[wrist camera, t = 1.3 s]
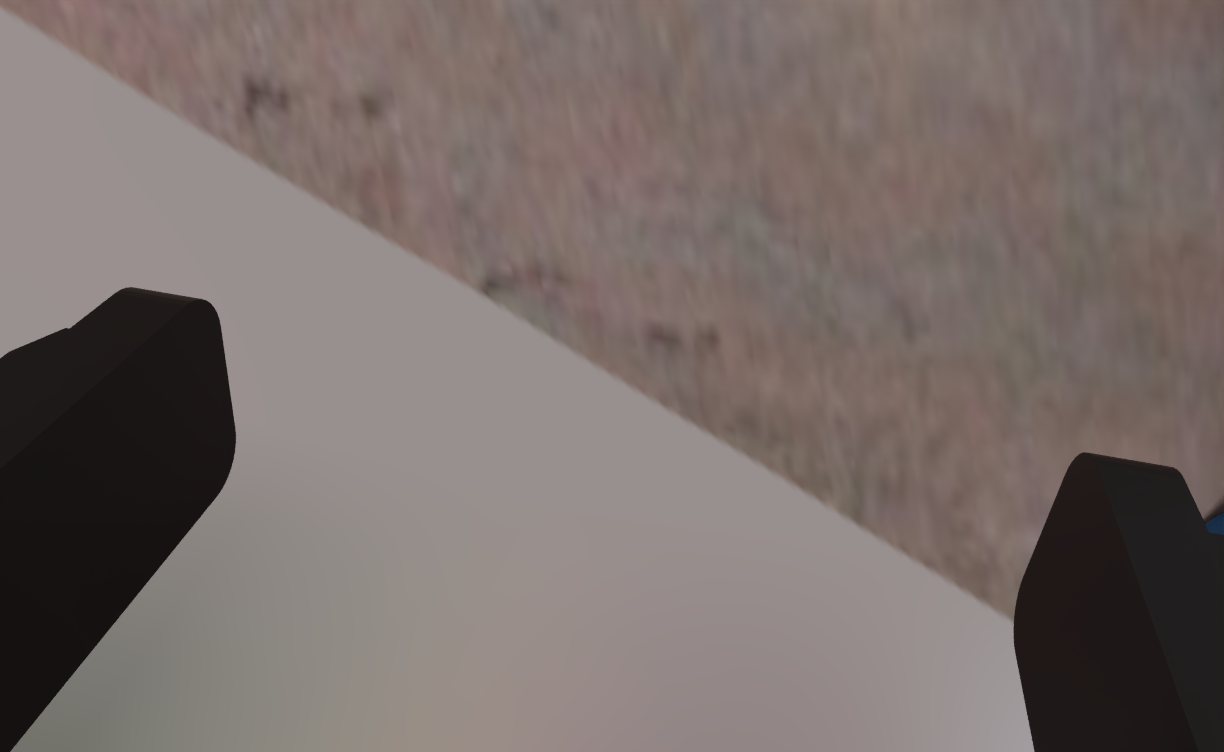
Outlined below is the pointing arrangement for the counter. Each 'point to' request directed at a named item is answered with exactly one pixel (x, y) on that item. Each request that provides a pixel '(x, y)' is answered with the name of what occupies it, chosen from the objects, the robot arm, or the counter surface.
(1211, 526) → the perfume bottle
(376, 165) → the counter surface
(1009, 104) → the counter surface
